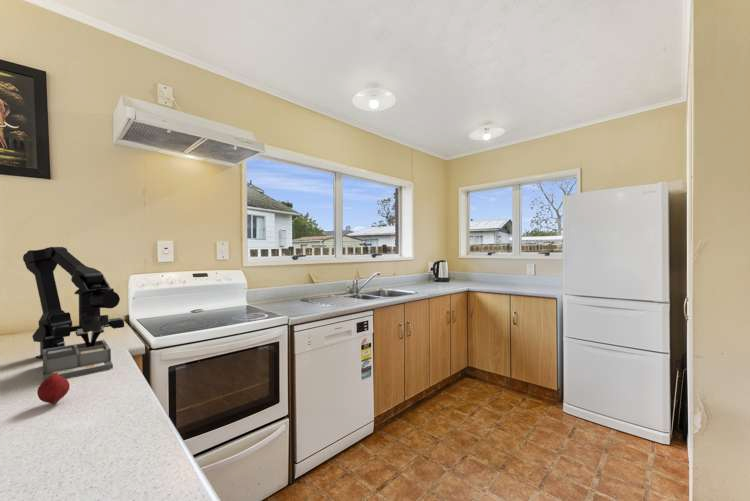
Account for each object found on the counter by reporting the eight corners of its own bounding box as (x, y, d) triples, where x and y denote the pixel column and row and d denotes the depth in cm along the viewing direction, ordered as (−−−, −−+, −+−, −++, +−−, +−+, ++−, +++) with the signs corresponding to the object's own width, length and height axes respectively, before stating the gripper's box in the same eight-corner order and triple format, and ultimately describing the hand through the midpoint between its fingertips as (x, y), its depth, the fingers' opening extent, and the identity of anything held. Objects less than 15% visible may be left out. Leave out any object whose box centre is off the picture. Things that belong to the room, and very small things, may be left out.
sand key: (80, 356, 111) (80, 351, 111) (103, 351, 115) (103, 347, 115) (81, 360, 107) (81, 355, 107) (105, 355, 111) (105, 351, 111)
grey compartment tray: (42, 365, 111) (42, 349, 111) (104, 354, 122) (104, 339, 122) (43, 383, 97) (43, 364, 97) (112, 368, 108) (112, 351, 108)
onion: (49, 410, 81) (48, 377, 81) (31, 408, 82) (30, 376, 82) (75, 399, 86) (74, 369, 86) (58, 397, 88) (57, 367, 87)
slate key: (47, 356, 111) (47, 351, 111) (72, 352, 115) (72, 347, 115) (48, 360, 107) (48, 356, 106) (73, 356, 111) (73, 351, 111)
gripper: (53, 314, 104) (54, 363, 104) (126, 306, 117) (127, 350, 117) (52, 309, 111) (53, 355, 112) (121, 302, 125) (121, 343, 125)
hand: (90, 351), depth 116 cm, fingers closed, pressing on terracotta key
